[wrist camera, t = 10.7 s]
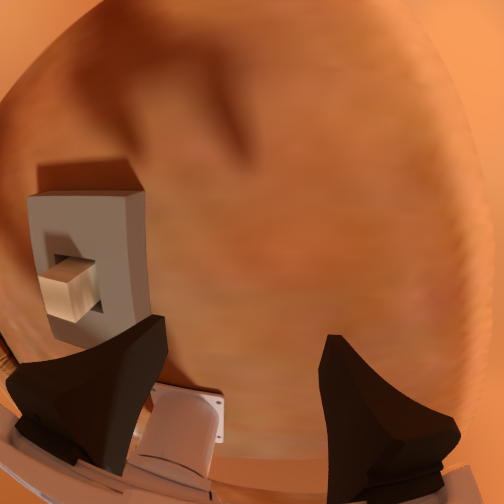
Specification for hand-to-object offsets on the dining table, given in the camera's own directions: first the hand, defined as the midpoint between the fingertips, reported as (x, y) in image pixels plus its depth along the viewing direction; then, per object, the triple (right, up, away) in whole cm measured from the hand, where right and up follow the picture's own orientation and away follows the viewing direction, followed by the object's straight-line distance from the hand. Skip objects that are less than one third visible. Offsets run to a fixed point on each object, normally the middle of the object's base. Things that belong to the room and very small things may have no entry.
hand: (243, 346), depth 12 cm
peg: (-13, +3, +10) cm, 17 cm away
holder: (-13, +2, +10) cm, 17 cm away
